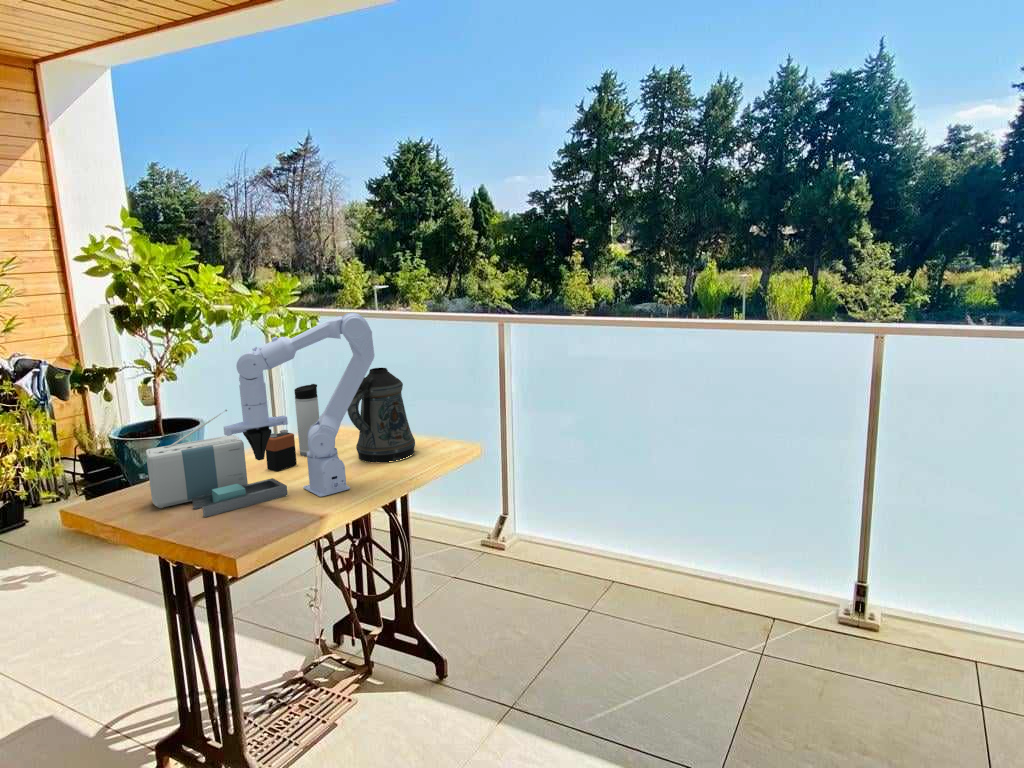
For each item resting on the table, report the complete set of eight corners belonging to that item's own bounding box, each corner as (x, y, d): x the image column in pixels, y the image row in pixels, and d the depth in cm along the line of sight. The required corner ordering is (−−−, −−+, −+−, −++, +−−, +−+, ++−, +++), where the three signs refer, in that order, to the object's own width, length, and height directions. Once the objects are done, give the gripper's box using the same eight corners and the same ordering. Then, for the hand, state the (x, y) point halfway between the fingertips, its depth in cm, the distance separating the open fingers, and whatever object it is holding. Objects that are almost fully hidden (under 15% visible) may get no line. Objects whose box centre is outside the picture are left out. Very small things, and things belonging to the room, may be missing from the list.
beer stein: (422, 447, 206) (417, 363, 201) (403, 467, 187) (397, 375, 182) (368, 446, 208) (362, 364, 203) (344, 466, 189) (337, 375, 184)
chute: (273, 487, 173) (272, 478, 173) (287, 495, 167) (286, 485, 167) (193, 508, 161) (191, 497, 160) (205, 517, 155) (203, 506, 154)
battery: (297, 465, 192) (294, 430, 190) (277, 472, 186) (273, 435, 184) (287, 463, 194) (284, 428, 192) (266, 469, 188) (263, 433, 187)
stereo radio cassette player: (155, 512, 159) (144, 427, 156) (149, 502, 166) (138, 420, 162) (249, 491, 171) (241, 412, 167) (240, 483, 178) (232, 407, 174)
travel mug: (327, 452, 203) (321, 385, 200) (307, 457, 199) (301, 388, 195) (315, 448, 207) (309, 382, 204) (295, 453, 203) (289, 386, 199)
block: (247, 504, 162) (245, 488, 162) (220, 511, 159) (218, 494, 158) (239, 499, 166) (237, 483, 165) (213, 505, 162) (211, 489, 162)
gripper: (277, 396, 171) (282, 449, 174) (216, 405, 162) (222, 462, 164) (289, 400, 166) (294, 455, 168) (227, 410, 156) (234, 468, 159)
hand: (259, 459), depth 166 cm, fingers closed
